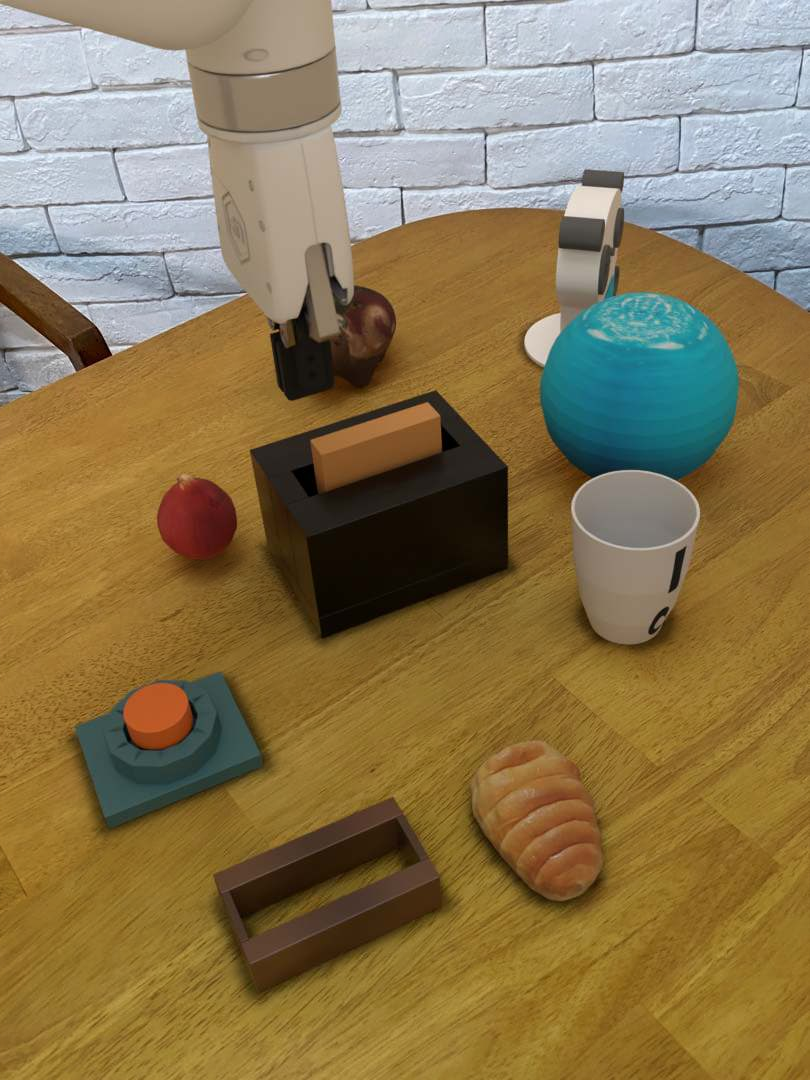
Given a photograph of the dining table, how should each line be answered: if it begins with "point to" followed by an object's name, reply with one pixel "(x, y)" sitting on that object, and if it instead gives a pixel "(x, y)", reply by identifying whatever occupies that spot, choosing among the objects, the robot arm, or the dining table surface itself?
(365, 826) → the brown rectangular frame
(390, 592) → the toaster
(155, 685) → the button
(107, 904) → the dining table surface
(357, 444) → the toast
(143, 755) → the block
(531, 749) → the pastry
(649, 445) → the decorative orb
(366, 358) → the brown mottled ceramic figure
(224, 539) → the onion
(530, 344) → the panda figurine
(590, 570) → the cup
